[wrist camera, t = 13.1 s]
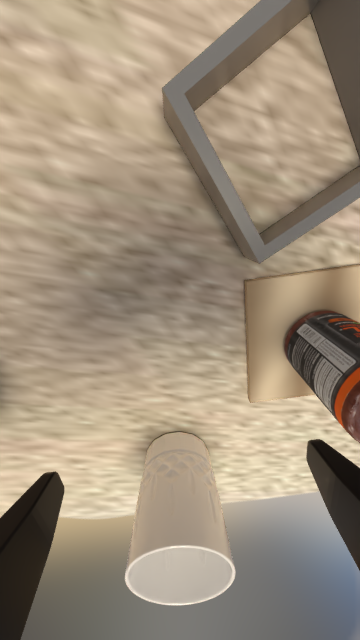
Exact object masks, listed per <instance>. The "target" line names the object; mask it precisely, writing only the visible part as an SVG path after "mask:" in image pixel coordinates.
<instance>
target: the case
mask: <svg viewBox="0 0 360 640" xmlns="http://www.w3.org/2000/svg"><path fill="white" fill-rule="evenodd" d="M310 13H311V15H312V18H313V21H314V24H315V27H316V30H317V33H318V36H319V39H320V42H321V45H322V48H323V50H324V53H325V56H326V59H327V62H328V65H329V68H330V71H331V74H332V77H333V80H334V83H335V86H336V89H337V92H338V95H339V98H340V101H341V104H342V107H343V110H344V113H345V116H346V118H347V121H348V124H349V127H350V130H351V133H352V136H353V139H354V142H355V145H356V148H357V151H358V154H359V157H360V0H261V1H260V2H258V3H257V4H256V5H255V6H254V7H253V8H252V9H251V10H249V11H248V12H247V13H246V14H245V15H244V16H243V17H242V18H240V19H239V20H238V21H237V22H236V23H235V24H234V25H233V26H231V27H230V28H229V29H228V30H227V31H226V32H225V33H224V34H222V35H221V36H220V37H219V38H218V39H217V40H216V41H215V42H213V43H212V44H211V45H210V46H209V47H208V48H207V49H206V50H204V51H203V52H202V53H201V54H200V55H199V56H198V57H197V58H195V59H194V60H193V61H192V62H191V63H190V64H189V65H188V66H186V67H185V68H184V69H183V70H182V71H181V72H180V73H179V74H177V75H176V76H175V77H174V78H173V79H172V80H171V81H170V82H168V83H167V84H166V85H165V86H164V87H163V88H162V93H163V106H164V118H165V119H166V121H167V123H168V125H169V126H170V128H171V130H172V131H173V133H174V135H175V137H176V138H177V140H178V142H179V144H180V145H181V147H182V149H183V151H184V152H185V154H186V156H187V158H188V159H189V161H190V163H191V165H192V166H193V168H194V170H195V172H196V173H197V175H198V177H199V179H200V180H201V182H202V184H203V186H204V187H205V189H206V191H207V193H208V194H209V196H210V198H211V200H212V201H213V203H214V205H215V206H216V208H217V210H218V212H219V213H220V215H221V217H222V219H223V220H224V222H225V224H226V226H227V227H228V229H229V231H230V233H231V234H232V236H233V238H234V240H235V241H236V243H237V245H238V247H239V248H240V250H241V252H242V254H243V255H244V257H246V258H248V259H251V260H253V261H255V262H257V263H261V262H262V261H264V260H266V259H267V258H269V257H270V256H272V255H273V254H275V253H276V252H278V251H279V250H281V249H282V248H284V247H285V246H287V245H288V244H290V243H291V242H293V241H294V240H296V239H297V238H299V237H300V236H302V235H303V234H305V233H307V232H308V231H310V230H311V229H313V228H314V227H316V226H317V225H319V224H320V223H322V222H323V221H325V220H326V219H328V218H329V217H331V216H332V215H334V214H335V213H337V212H338V211H340V210H341V209H343V208H344V207H346V206H348V205H349V204H351V203H352V202H354V201H355V200H357V199H358V198H360V166H358V167H357V168H356V169H354V170H353V171H351V172H350V173H348V174H347V175H345V176H344V177H342V178H341V179H339V180H338V181H337V182H335V183H334V184H332V185H331V186H329V187H328V188H326V189H325V190H323V191H322V192H320V193H319V194H318V195H316V196H315V197H313V198H312V199H310V200H309V201H307V202H306V203H304V204H303V205H301V206H300V207H299V208H297V209H296V210H294V211H293V212H291V213H290V214H288V215H287V216H285V217H284V218H282V219H281V220H280V221H278V222H277V223H275V224H274V225H272V226H271V227H269V228H268V229H266V230H265V231H263V232H262V233H261V234H259V233H258V231H257V230H256V228H255V226H254V224H253V222H252V220H251V218H250V216H249V215H248V213H247V211H246V209H245V207H244V205H243V203H242V201H241V199H240V198H239V196H238V194H237V192H236V190H235V188H234V186H233V184H232V183H231V181H230V179H229V177H228V175H227V173H226V171H225V169H224V167H223V166H222V164H221V162H220V160H219V158H218V156H217V154H216V152H215V151H214V149H213V147H212V145H211V143H210V141H209V139H208V137H207V135H206V134H205V132H204V130H203V128H202V126H201V124H200V122H199V120H198V119H197V117H196V115H195V113H194V110H196V109H197V108H198V107H199V106H200V105H202V104H203V103H204V102H205V101H206V100H208V99H209V98H210V97H211V96H212V95H214V94H215V93H216V92H217V91H218V90H219V89H221V88H222V87H223V86H224V85H225V84H227V83H228V82H229V81H230V80H231V79H233V78H234V77H235V76H236V75H237V74H238V73H240V72H241V71H242V70H243V69H244V68H246V67H247V66H248V65H249V64H250V63H252V62H253V61H254V60H255V59H256V58H257V57H259V56H260V55H261V54H262V53H263V52H265V51H266V50H267V49H268V48H269V47H271V46H272V45H273V44H274V43H275V42H277V41H278V40H279V39H280V38H281V37H282V36H284V35H285V34H286V33H287V32H288V31H290V30H291V29H292V28H293V27H294V26H296V25H297V24H298V23H299V22H300V21H301V20H303V19H304V18H305V17H306V16H307V15H309V14H310Z"/></svg>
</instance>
